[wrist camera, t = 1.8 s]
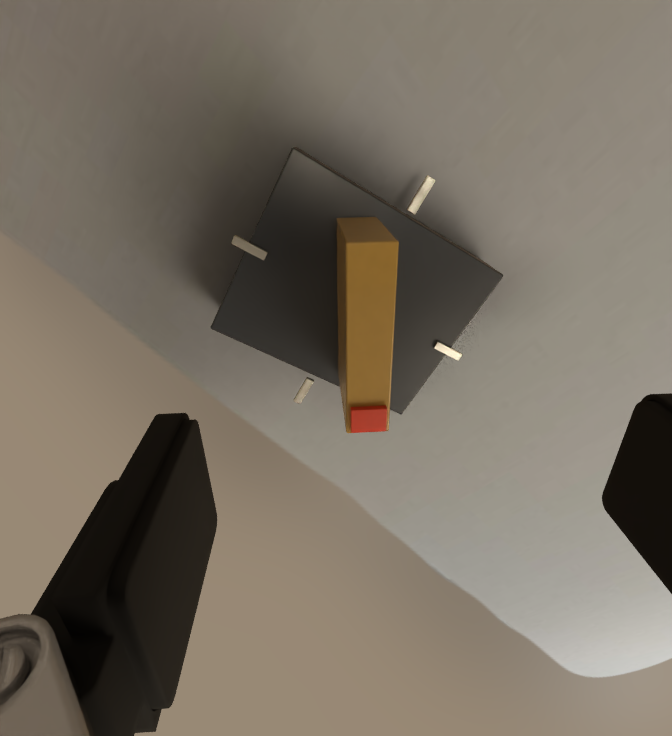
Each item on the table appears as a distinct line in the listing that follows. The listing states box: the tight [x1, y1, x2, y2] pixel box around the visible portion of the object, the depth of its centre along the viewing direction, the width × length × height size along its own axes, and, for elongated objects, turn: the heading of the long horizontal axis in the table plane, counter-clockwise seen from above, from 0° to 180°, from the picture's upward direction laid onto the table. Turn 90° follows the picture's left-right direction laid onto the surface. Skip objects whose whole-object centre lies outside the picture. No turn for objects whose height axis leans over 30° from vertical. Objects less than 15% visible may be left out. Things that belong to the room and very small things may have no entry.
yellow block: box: [336, 217, 399, 433], centre depth 16 cm, size 7×2×5 cm, turn 1°
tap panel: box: [211, 147, 503, 414], centre depth 19 cm, size 11×11×3 cm
